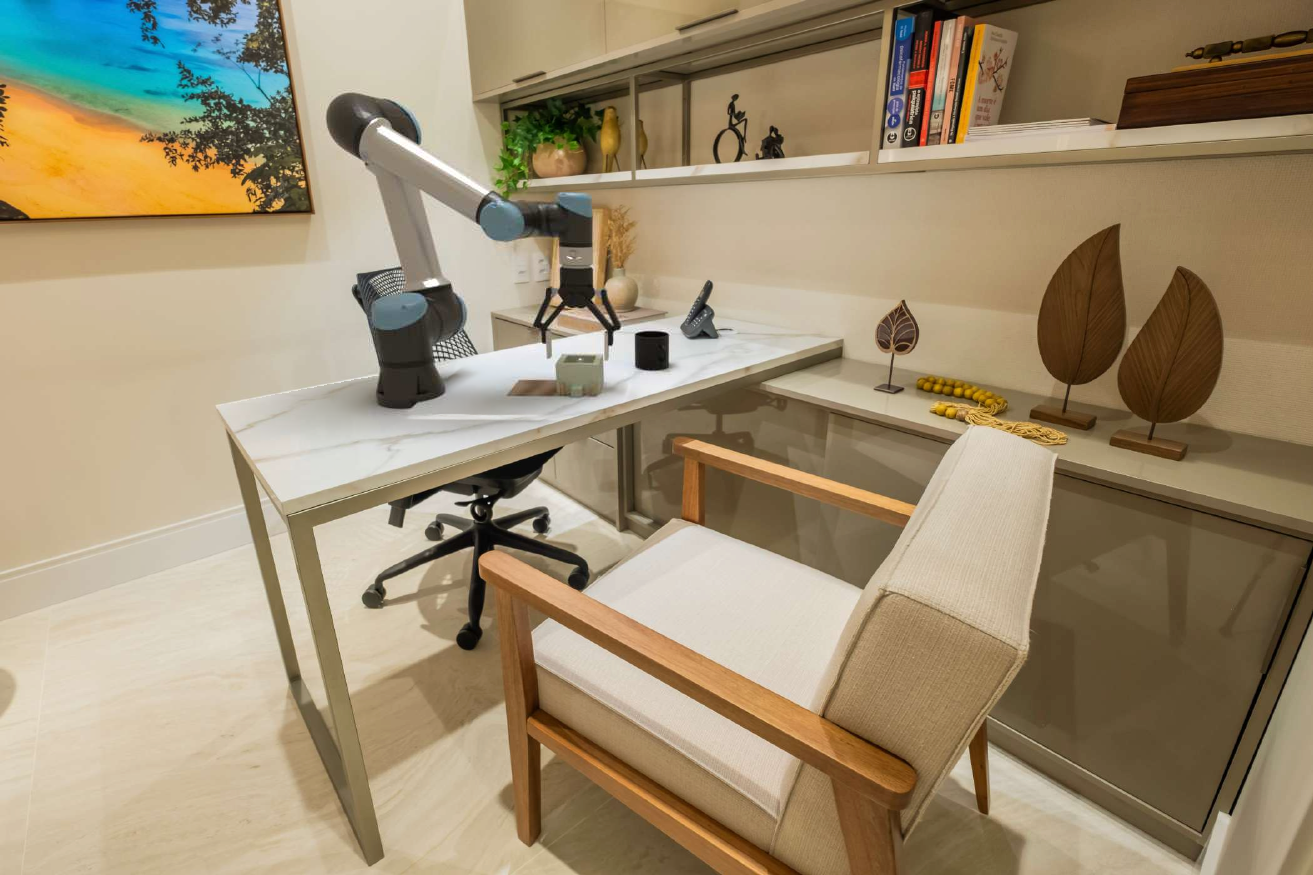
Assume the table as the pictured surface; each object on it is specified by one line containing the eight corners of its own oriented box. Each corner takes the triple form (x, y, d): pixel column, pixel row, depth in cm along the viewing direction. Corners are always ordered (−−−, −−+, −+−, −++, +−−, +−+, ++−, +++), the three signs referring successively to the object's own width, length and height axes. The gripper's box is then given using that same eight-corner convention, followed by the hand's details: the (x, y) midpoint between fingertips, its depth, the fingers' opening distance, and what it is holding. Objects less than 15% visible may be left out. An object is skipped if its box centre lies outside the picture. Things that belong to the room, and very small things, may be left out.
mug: (650, 374, 167) (650, 341, 164) (628, 364, 176) (628, 333, 173) (680, 369, 171) (680, 337, 168) (657, 360, 181) (657, 329, 178)
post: (575, 388, 150) (574, 359, 148) (577, 385, 153) (575, 356, 150) (585, 388, 150) (584, 359, 148) (587, 385, 153) (586, 356, 150)
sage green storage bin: (563, 381, 156) (562, 353, 154) (603, 381, 156) (603, 354, 153) (554, 397, 144) (553, 367, 141) (598, 397, 144) (597, 367, 141)
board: (506, 400, 145) (505, 383, 144) (519, 384, 158) (518, 368, 156) (596, 401, 145) (596, 384, 143) (602, 385, 157) (602, 368, 156)
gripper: (517, 266, 138) (522, 360, 146) (630, 269, 137) (629, 364, 145) (524, 262, 145) (528, 352, 153) (632, 266, 144) (631, 356, 152)
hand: (578, 358), depth 149 cm, fingers open, 13 cm apart
